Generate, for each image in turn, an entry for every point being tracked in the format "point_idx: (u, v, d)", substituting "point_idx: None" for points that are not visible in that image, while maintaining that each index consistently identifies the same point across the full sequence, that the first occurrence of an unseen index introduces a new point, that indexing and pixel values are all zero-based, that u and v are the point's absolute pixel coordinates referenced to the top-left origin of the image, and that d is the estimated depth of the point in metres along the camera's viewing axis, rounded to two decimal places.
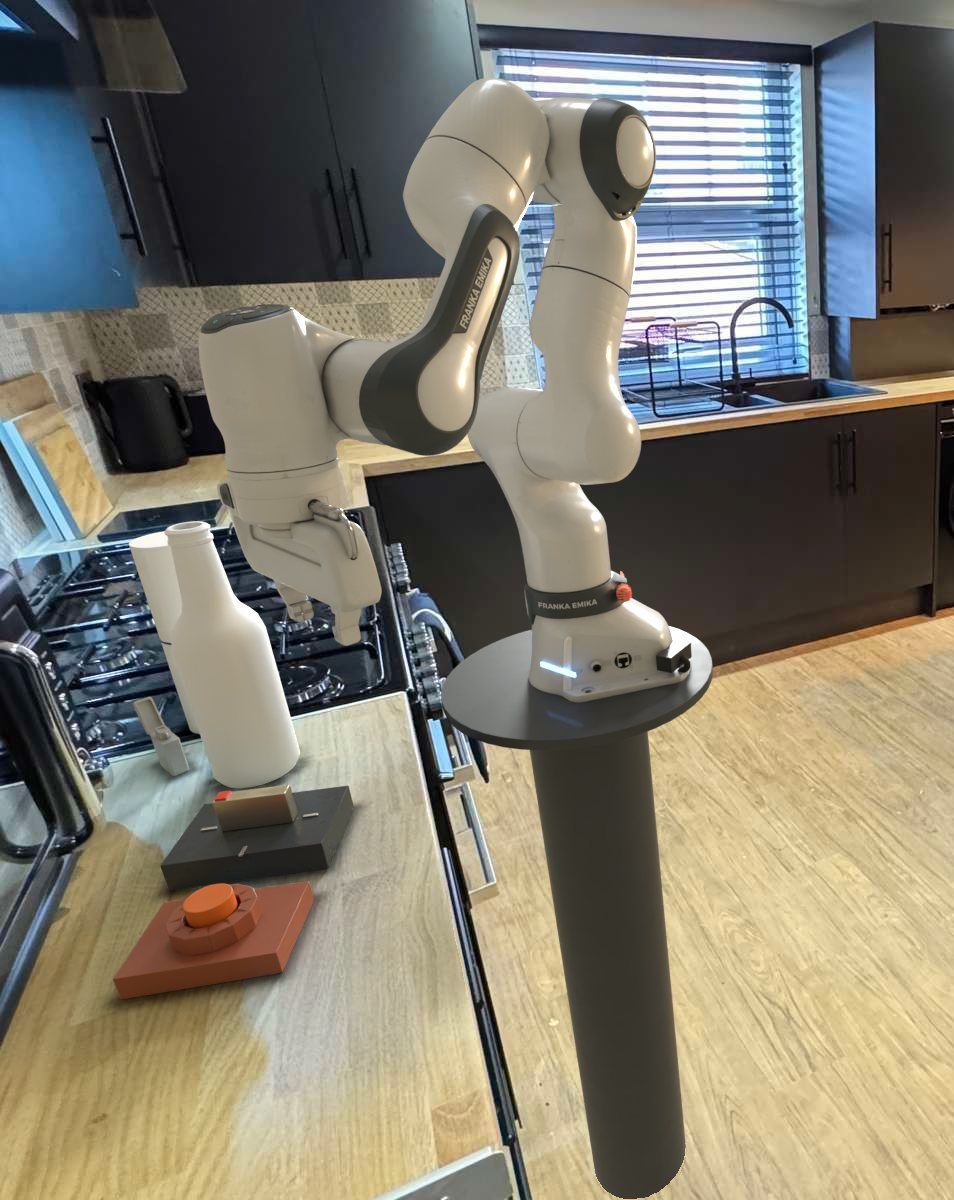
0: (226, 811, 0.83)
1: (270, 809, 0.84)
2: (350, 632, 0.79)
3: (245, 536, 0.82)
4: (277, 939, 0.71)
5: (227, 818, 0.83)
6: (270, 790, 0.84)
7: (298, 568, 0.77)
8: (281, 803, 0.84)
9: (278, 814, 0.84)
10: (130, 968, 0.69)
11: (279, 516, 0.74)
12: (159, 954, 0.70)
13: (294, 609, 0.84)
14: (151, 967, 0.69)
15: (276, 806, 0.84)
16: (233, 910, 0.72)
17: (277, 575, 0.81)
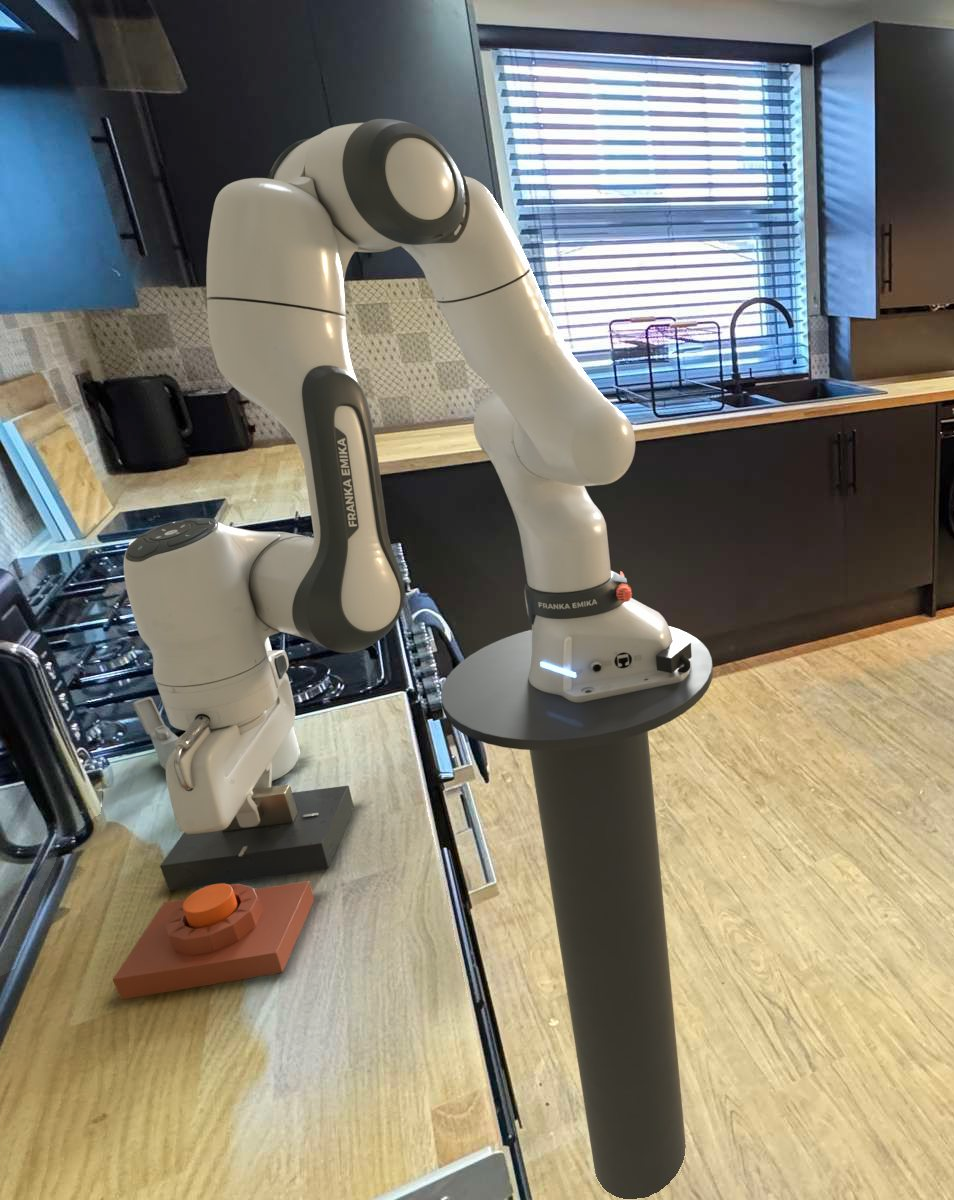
0: None
1: (270, 809, 0.84)
2: (247, 817, 0.82)
3: None
4: (277, 939, 0.71)
5: None
6: (270, 790, 0.84)
7: None
8: (281, 803, 0.84)
9: (278, 814, 0.84)
10: (130, 968, 0.69)
11: (174, 723, 0.76)
12: (159, 954, 0.70)
13: None
14: (151, 967, 0.69)
15: (276, 806, 0.84)
16: (233, 910, 0.72)
17: None
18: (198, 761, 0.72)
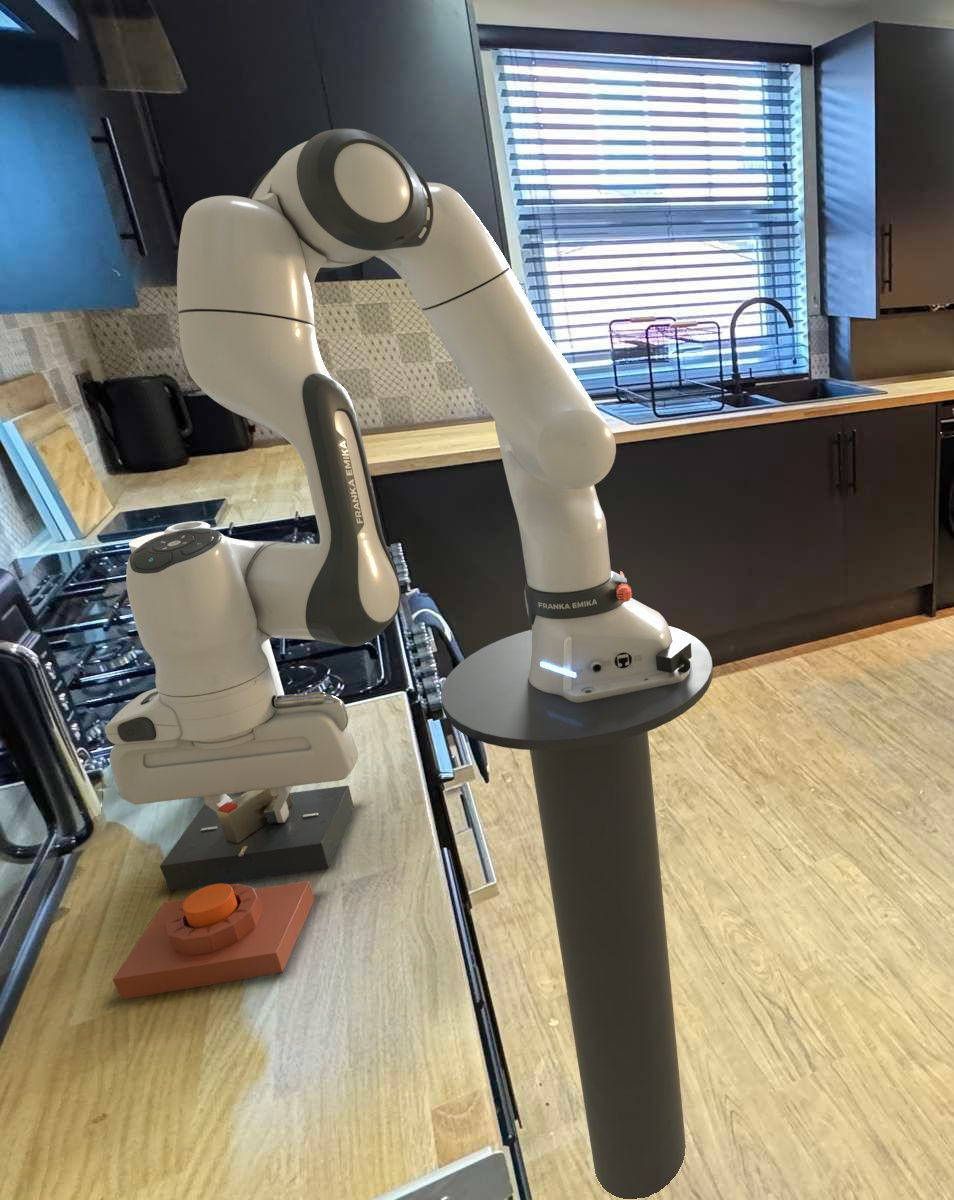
0: (240, 818, 0.82)
1: (275, 799, 0.85)
2: (284, 809, 0.85)
3: (132, 770, 0.78)
4: (277, 939, 0.71)
5: (242, 825, 0.82)
6: None
7: (259, 766, 0.81)
8: None
9: None
10: (130, 968, 0.69)
11: (254, 720, 0.78)
12: (159, 954, 0.70)
13: None
14: (151, 967, 0.69)
15: None
16: (233, 910, 0.72)
17: (203, 789, 0.81)
18: None
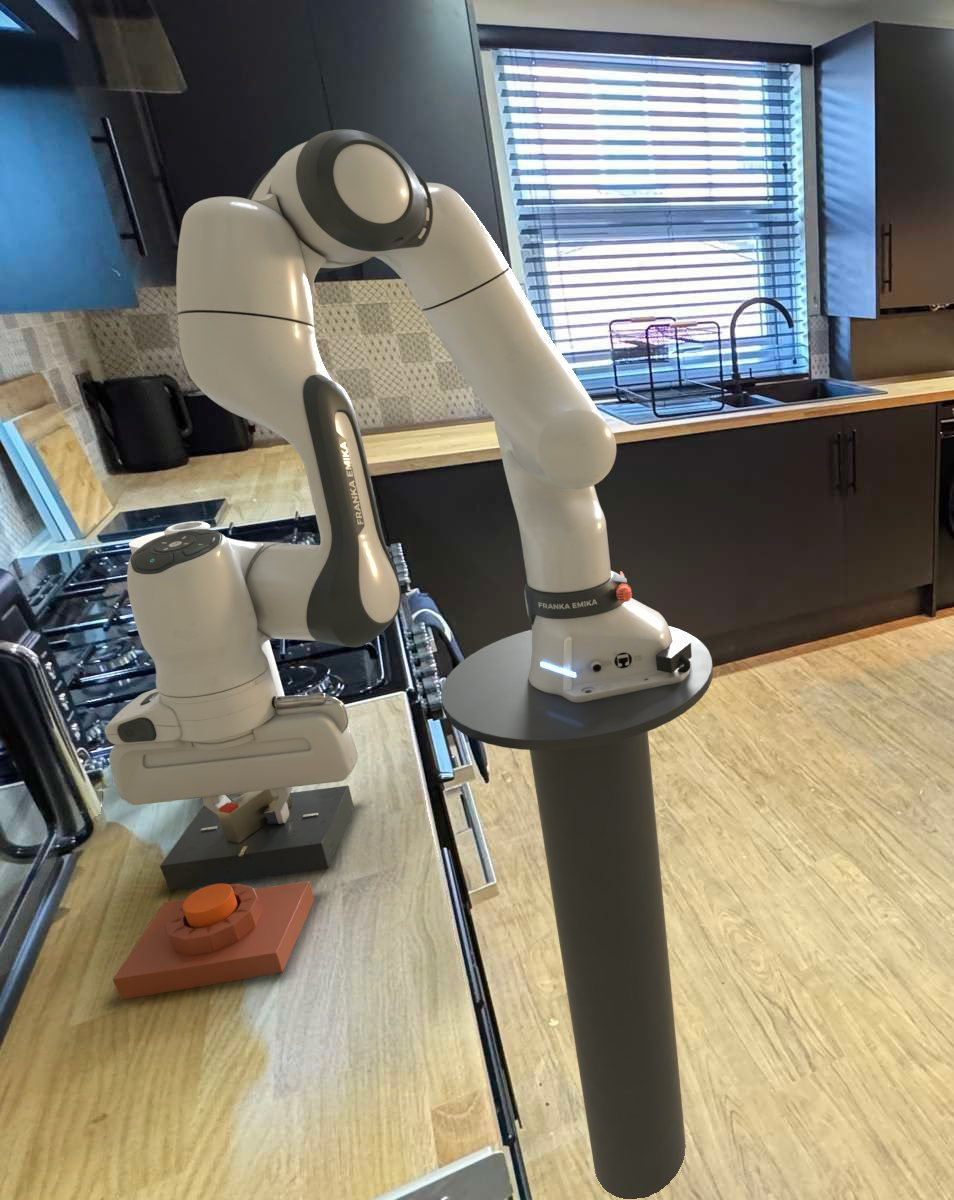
0: (241, 818, 0.82)
1: (275, 799, 0.85)
2: (284, 809, 0.85)
3: (131, 770, 0.78)
4: (277, 939, 0.71)
5: (242, 825, 0.82)
6: None
7: (259, 767, 0.81)
8: None
9: None
10: (130, 968, 0.69)
11: (254, 721, 0.78)
12: (159, 954, 0.70)
13: None
14: (151, 967, 0.69)
15: None
16: (233, 910, 0.72)
17: (203, 790, 0.81)
18: None
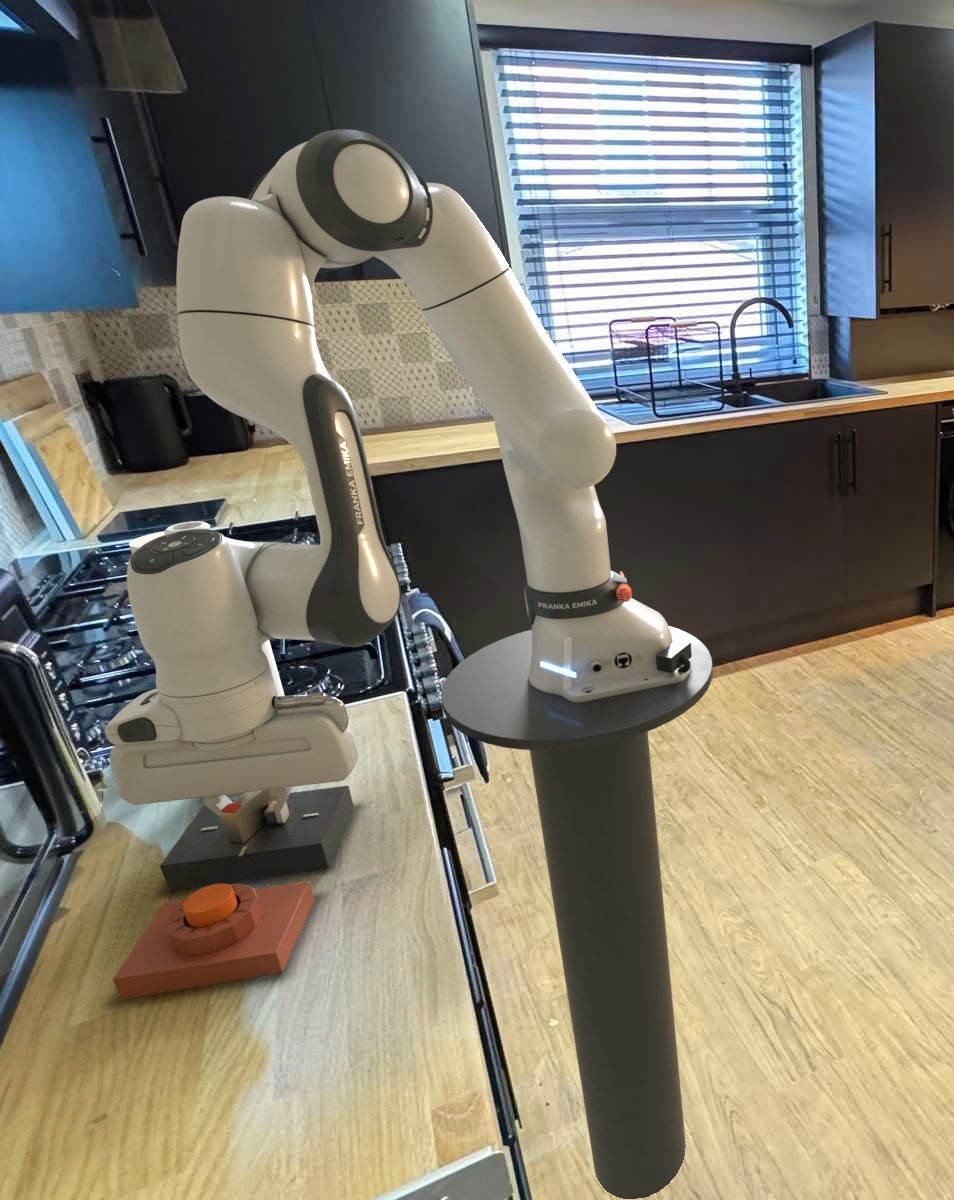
0: (244, 818, 0.82)
1: (274, 798, 0.86)
2: (284, 809, 0.85)
3: (132, 770, 0.78)
4: (277, 939, 0.71)
5: (246, 825, 0.82)
6: None
7: (259, 766, 0.81)
8: None
9: None
10: (130, 968, 0.69)
11: (254, 721, 0.78)
12: (159, 954, 0.70)
13: None
14: (151, 967, 0.69)
15: None
16: (233, 910, 0.72)
17: (203, 789, 0.81)
18: None
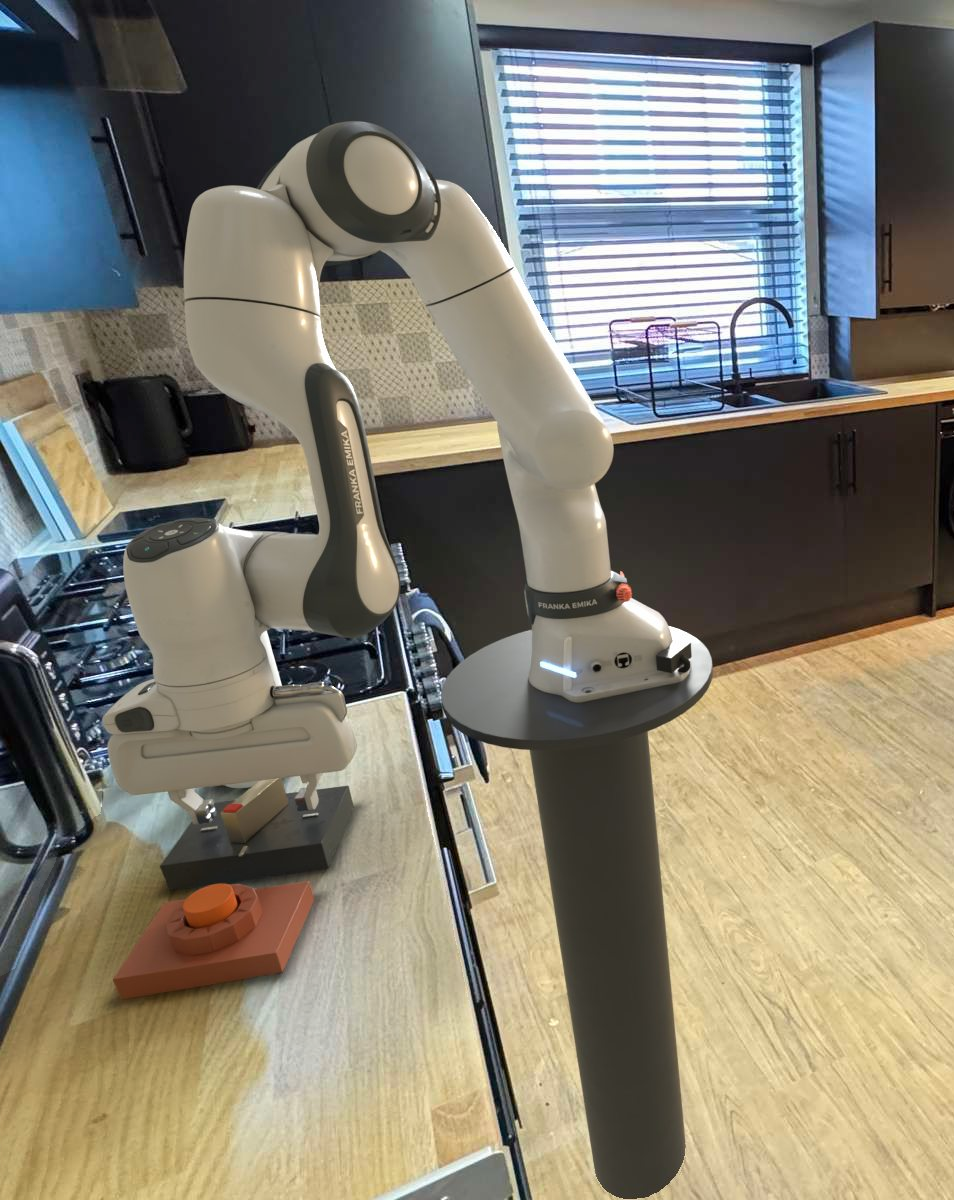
0: (246, 817, 0.82)
1: (274, 798, 0.86)
2: (314, 796, 0.85)
3: (130, 761, 0.78)
4: (277, 939, 0.71)
5: (247, 825, 0.82)
6: (262, 783, 0.85)
7: (257, 756, 0.81)
8: (280, 787, 0.87)
9: (279, 800, 0.86)
10: (130, 968, 0.69)
11: (252, 711, 0.78)
12: (159, 954, 0.70)
13: (204, 811, 0.83)
14: (151, 967, 0.69)
15: (277, 792, 0.86)
16: (233, 910, 0.72)
17: (202, 780, 0.80)
18: None
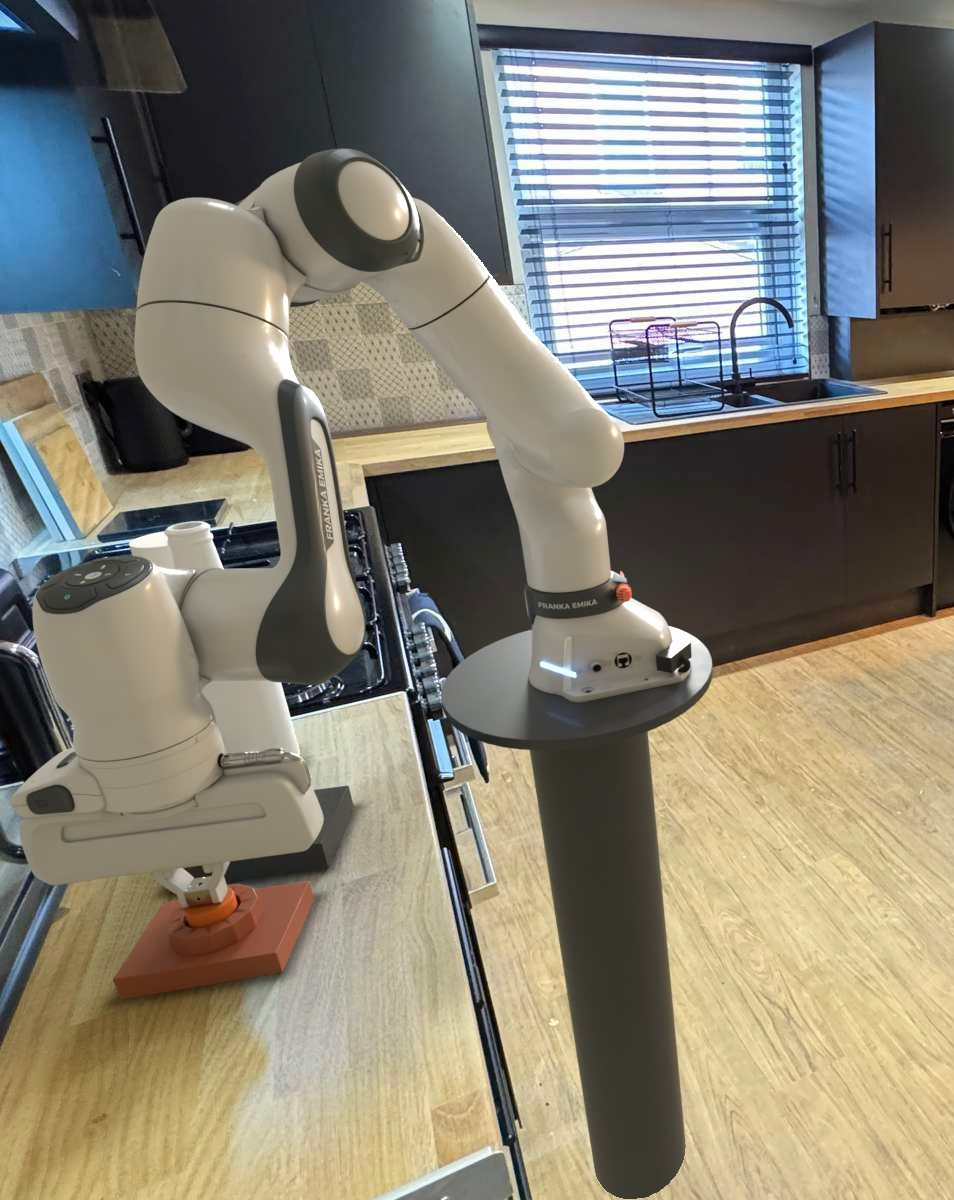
0: None
1: None
2: (221, 886, 0.72)
3: (47, 846, 0.65)
4: (277, 939, 0.71)
5: None
6: None
7: (203, 837, 0.68)
8: None
9: None
10: (130, 968, 0.69)
11: (195, 786, 0.65)
12: (159, 954, 0.70)
13: (195, 892, 0.71)
14: (151, 967, 0.69)
15: None
16: None
17: (136, 866, 0.67)
18: None
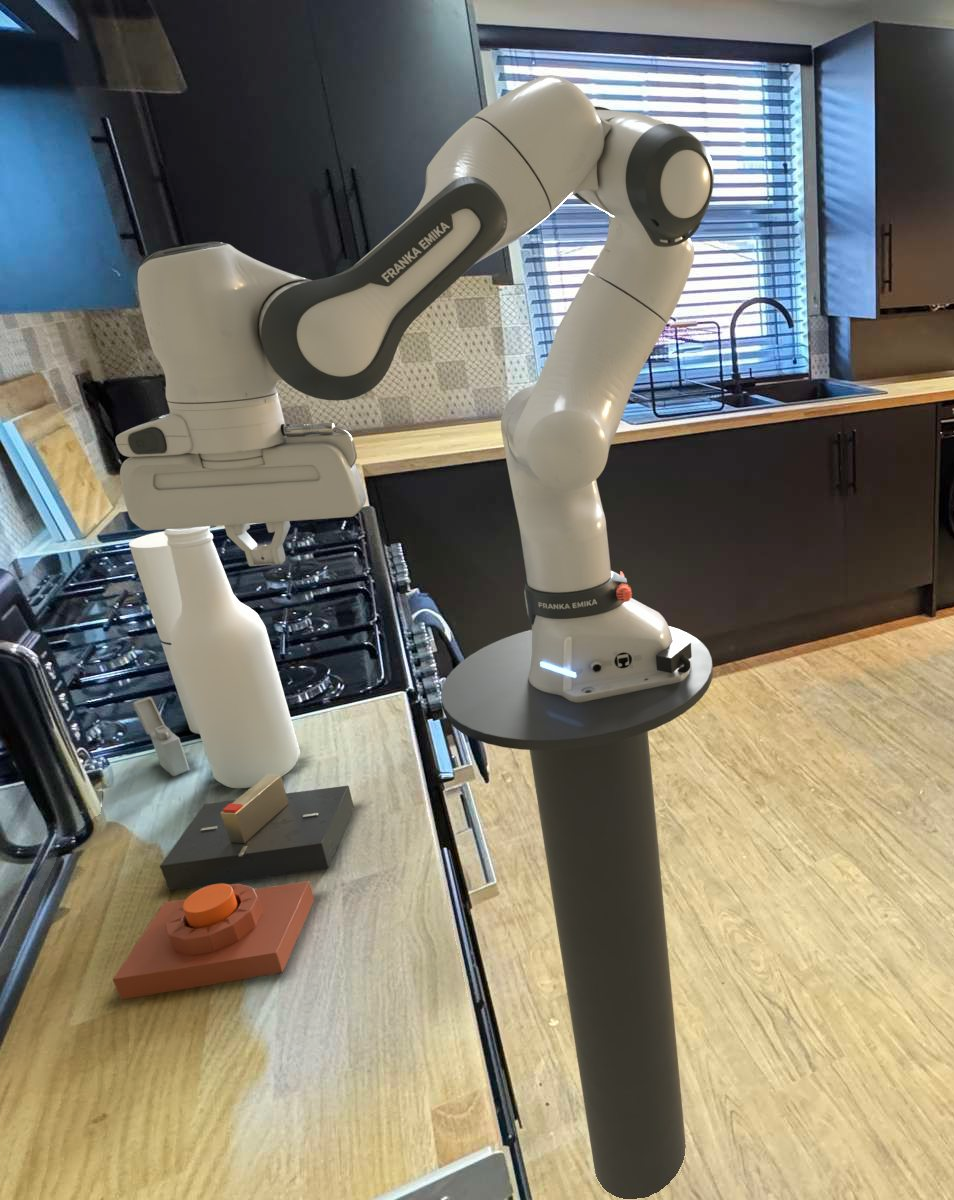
0: (246, 817, 0.82)
1: (274, 798, 0.86)
2: (280, 551, 0.85)
3: (142, 490, 0.79)
4: (277, 939, 0.71)
5: (247, 825, 0.82)
6: (262, 783, 0.85)
7: (268, 494, 0.82)
8: (280, 787, 0.87)
9: (279, 800, 0.86)
10: (130, 968, 0.69)
11: (264, 440, 0.79)
12: (159, 954, 0.70)
13: (260, 552, 0.84)
14: (151, 967, 0.69)
15: (277, 792, 0.86)
16: (233, 910, 0.72)
17: (213, 516, 0.81)
18: None
